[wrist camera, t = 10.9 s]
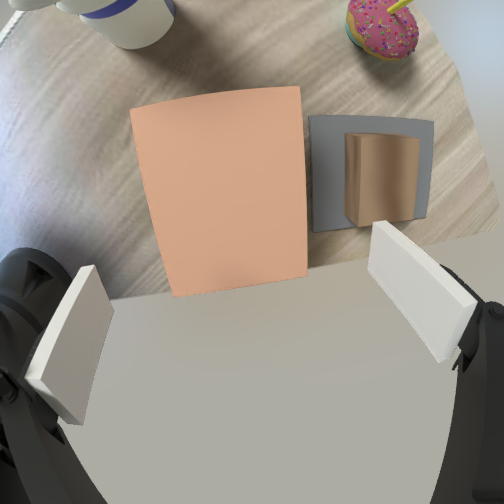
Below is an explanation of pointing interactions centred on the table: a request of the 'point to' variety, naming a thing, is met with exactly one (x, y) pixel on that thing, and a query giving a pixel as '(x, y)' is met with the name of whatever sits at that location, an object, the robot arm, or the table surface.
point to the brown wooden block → (380, 177)
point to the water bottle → (116, 18)
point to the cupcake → (382, 28)
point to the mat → (333, 162)
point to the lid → (226, 187)
